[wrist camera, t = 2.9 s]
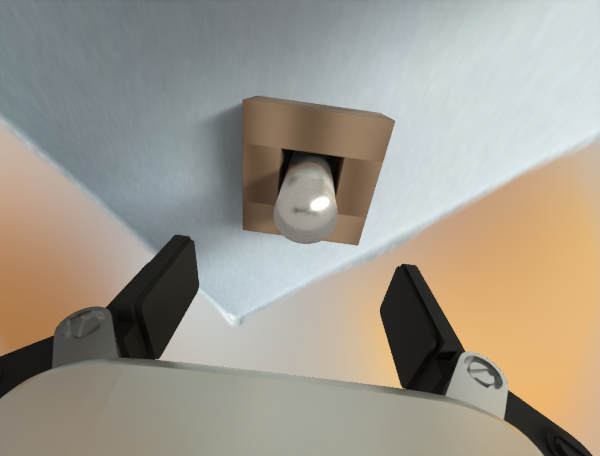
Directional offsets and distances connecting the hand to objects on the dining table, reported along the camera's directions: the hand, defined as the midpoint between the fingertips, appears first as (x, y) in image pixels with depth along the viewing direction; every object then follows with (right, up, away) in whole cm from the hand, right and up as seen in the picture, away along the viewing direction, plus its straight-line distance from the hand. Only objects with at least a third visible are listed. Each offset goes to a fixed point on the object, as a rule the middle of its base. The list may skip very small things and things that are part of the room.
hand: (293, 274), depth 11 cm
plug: (+1, +9, +13) cm, 16 cm away
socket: (+1, +9, +13) cm, 16 cm away
